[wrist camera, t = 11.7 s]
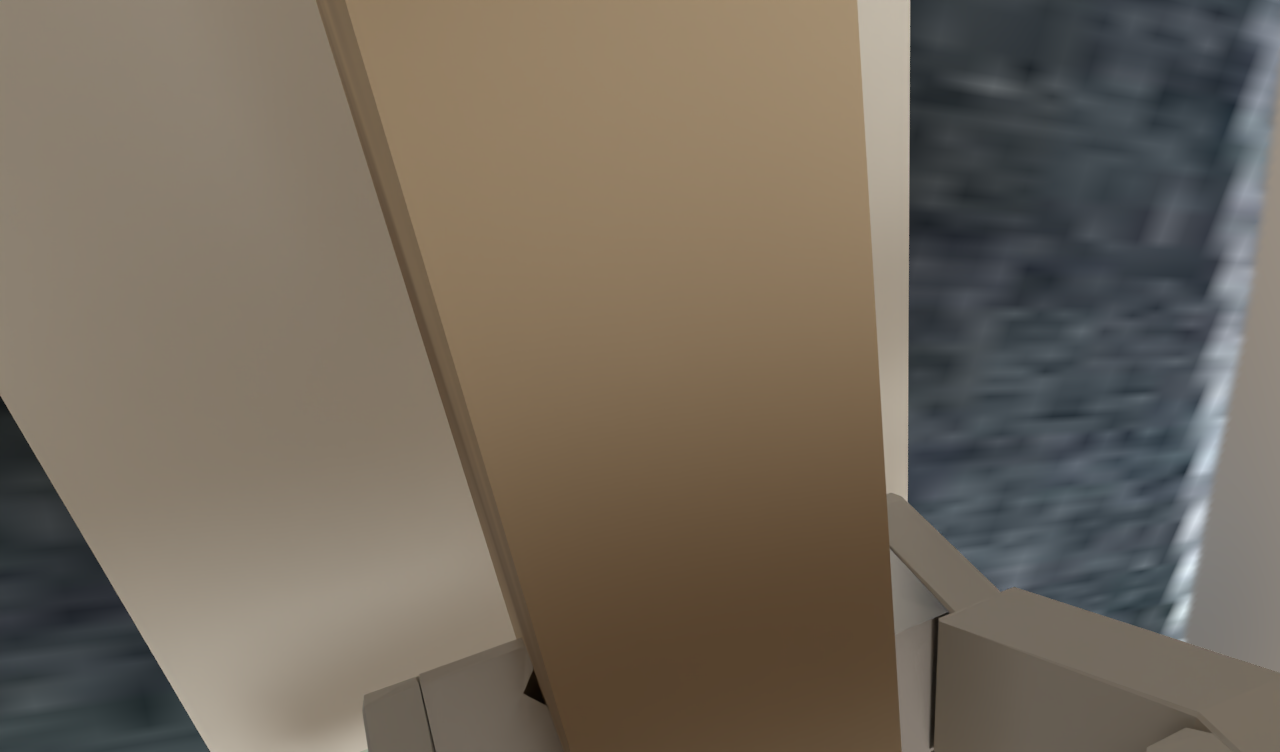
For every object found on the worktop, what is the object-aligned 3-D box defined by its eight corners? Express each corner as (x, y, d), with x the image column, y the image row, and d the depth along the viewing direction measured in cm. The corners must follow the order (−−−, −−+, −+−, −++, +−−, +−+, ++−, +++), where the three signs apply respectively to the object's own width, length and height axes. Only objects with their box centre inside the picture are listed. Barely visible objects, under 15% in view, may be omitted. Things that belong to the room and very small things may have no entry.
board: (-542, -821, 8) (-900, -1129, 5) (758, -836, 11) (915, -1047, 8) (238, 663, 17) (238, 798, 15) (825, 456, 20) (907, 541, 17)
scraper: (-545, -214, 6) (-1838, -443, 2) (1031, -428, 8) (1601, -695, 5) (264, 1024, 12) (267, 1470, 8) (1011, 686, 14) (1247, 924, 11)
